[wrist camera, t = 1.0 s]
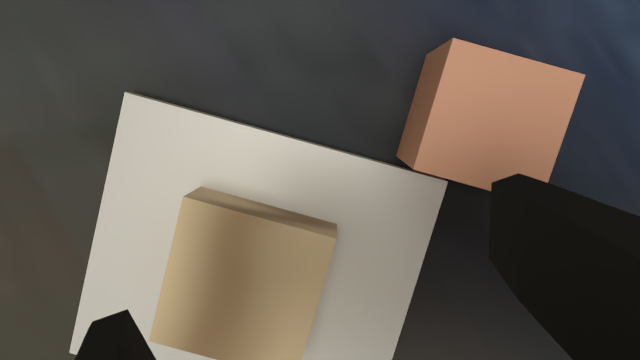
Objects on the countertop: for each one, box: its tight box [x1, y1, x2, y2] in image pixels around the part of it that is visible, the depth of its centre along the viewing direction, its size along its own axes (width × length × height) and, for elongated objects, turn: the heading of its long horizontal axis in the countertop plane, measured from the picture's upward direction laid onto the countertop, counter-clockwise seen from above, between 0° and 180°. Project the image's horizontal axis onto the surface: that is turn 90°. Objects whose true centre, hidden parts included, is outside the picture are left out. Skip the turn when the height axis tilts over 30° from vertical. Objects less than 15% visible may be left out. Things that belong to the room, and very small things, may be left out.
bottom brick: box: [149, 187, 337, 360], centre depth 21 cm, size 6×6×2 cm
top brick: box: [396, 38, 585, 191], centre depth 19 cm, size 4×4×5 cm
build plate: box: [69, 92, 448, 360], centre depth 22 cm, size 14×12×1 cm
